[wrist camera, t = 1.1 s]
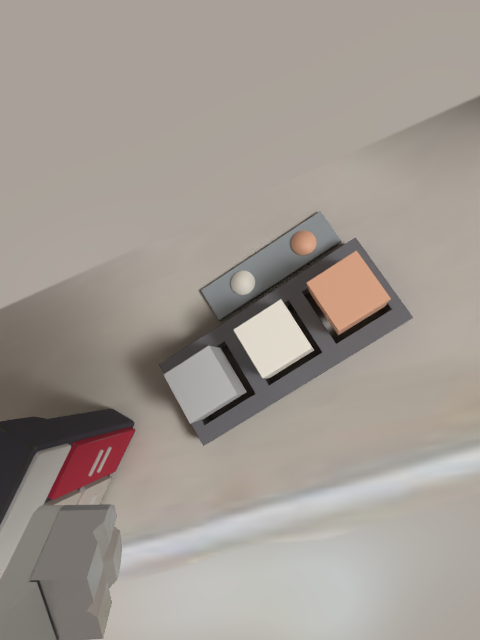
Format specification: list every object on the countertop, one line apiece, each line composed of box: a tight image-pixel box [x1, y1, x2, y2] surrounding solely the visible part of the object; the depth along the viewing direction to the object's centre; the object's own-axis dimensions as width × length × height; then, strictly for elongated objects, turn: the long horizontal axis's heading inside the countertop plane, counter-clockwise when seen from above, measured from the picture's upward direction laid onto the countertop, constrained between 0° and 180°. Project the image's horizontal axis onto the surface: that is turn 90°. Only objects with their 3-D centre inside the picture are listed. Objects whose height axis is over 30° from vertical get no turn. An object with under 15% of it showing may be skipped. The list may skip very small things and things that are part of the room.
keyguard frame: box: [159, 237, 413, 446], centre depth 39 cm, size 22×9×2 cm, turn 121°
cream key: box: [234, 299, 314, 378], centre depth 35 cm, size 5×5×4 cm
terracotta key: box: [307, 251, 391, 335], centre depth 35 cm, size 5×5×4 cm
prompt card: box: [201, 212, 341, 321], centre depth 41 cm, size 14×4×1 cm, turn 121°
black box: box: [0, 409, 135, 573], centre depth 35 cm, size 11×4×15 cm, turn 154°
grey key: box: [164, 346, 246, 424], centre depth 36 cm, size 5×5×4 cm
